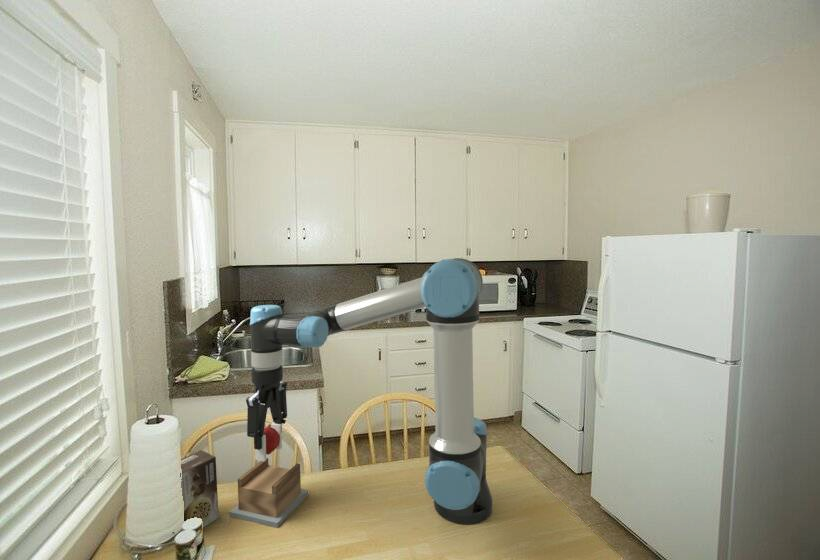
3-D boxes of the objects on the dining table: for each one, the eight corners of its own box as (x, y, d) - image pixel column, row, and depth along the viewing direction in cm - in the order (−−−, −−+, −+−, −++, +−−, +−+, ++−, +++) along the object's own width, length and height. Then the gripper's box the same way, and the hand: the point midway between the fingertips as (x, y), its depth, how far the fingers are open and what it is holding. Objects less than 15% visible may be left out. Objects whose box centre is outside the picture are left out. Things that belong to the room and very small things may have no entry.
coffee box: (203, 509, 105) (201, 449, 104) (219, 518, 102) (217, 455, 101) (167, 530, 98) (164, 465, 96) (183, 540, 94) (180, 473, 93)
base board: (308, 494, 112) (308, 490, 112) (277, 527, 99) (277, 523, 99) (264, 485, 116) (264, 481, 116) (229, 516, 103) (229, 511, 103)
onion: (272, 461, 103) (272, 430, 102) (251, 458, 104) (251, 428, 103) (283, 450, 109) (283, 420, 108) (264, 447, 110) (263, 418, 109)
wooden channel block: (300, 492, 111) (300, 464, 110) (276, 518, 100) (275, 486, 100) (265, 485, 114) (265, 457, 113) (238, 509, 104) (237, 479, 103)
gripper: (276, 355, 115) (278, 435, 116) (228, 375, 97) (230, 470, 98) (300, 358, 112) (301, 439, 114) (255, 378, 94) (257, 475, 96)
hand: (268, 453), depth 106 cm, fingers closed on onion, 6 cm apart
